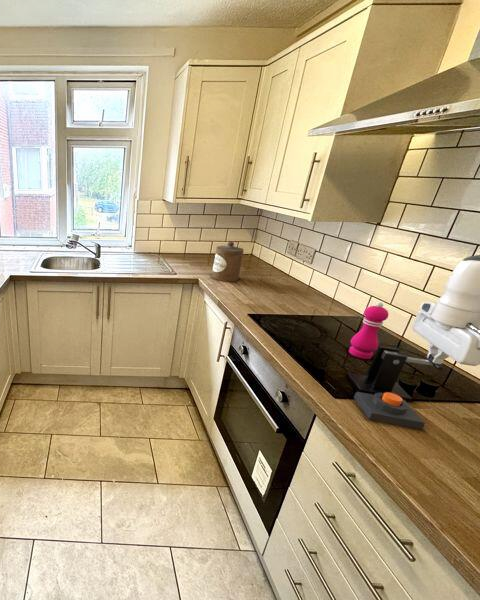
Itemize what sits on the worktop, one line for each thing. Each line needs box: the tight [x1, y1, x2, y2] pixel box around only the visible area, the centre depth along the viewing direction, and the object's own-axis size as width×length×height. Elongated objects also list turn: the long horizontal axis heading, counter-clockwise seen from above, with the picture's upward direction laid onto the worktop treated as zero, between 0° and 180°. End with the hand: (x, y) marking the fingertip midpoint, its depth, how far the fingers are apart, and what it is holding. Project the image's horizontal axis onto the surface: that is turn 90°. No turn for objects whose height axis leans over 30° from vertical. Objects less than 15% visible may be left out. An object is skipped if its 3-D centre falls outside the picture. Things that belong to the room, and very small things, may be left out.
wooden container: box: [211, 241, 244, 282], centre depth 187 cm, size 15×15×22 cm
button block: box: [353, 391, 426, 430], centre depth 84 cm, size 11×9×4 cm
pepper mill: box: [348, 301, 389, 360], centre depth 108 cm, size 7×7×20 cm
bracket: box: [346, 345, 413, 403], centre depth 92 cm, size 12×9×13 cm
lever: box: [381, 350, 445, 371], centre depth 89 cm, size 12×5×2 cm, turn 72°
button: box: [382, 392, 402, 406], centre depth 83 cm, size 4×4×2 cm
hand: (433, 361), depth 87 cm, fingers closed, pressing on lever
